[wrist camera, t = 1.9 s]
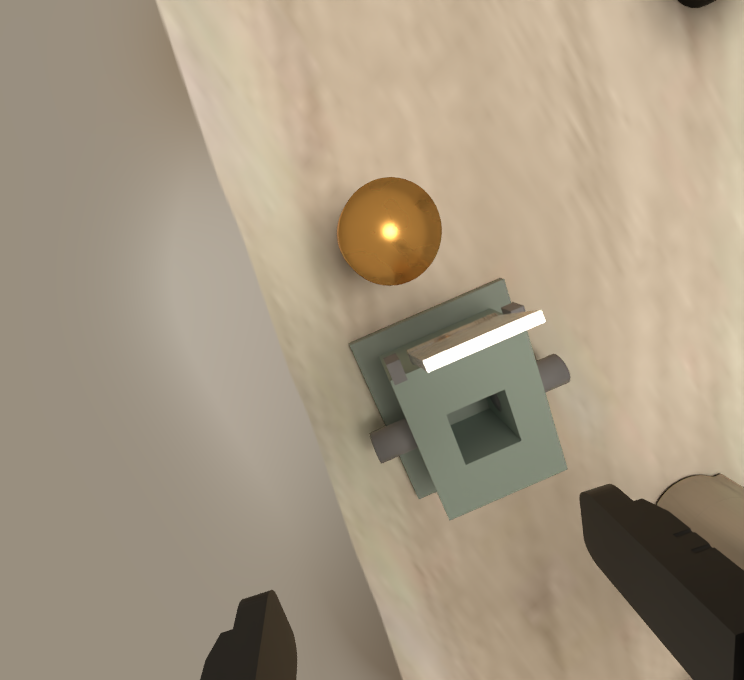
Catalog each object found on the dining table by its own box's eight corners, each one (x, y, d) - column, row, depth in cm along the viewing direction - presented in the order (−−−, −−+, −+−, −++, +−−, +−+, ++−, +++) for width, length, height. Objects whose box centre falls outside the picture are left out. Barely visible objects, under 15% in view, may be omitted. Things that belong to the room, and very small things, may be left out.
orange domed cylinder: (391, 184, 31) (421, 160, 21) (417, 255, 33) (455, 261, 23) (322, 213, 31) (321, 202, 21) (352, 282, 33) (363, 301, 23)
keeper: (491, 312, 28) (539, 305, 20) (497, 327, 28) (547, 325, 20) (405, 349, 28) (420, 356, 20) (412, 364, 28) (429, 376, 20)
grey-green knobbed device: (515, 271, 34) (570, 281, 26) (561, 431, 39) (619, 478, 32) (334, 349, 34) (336, 382, 26) (403, 499, 39) (423, 564, 31)
